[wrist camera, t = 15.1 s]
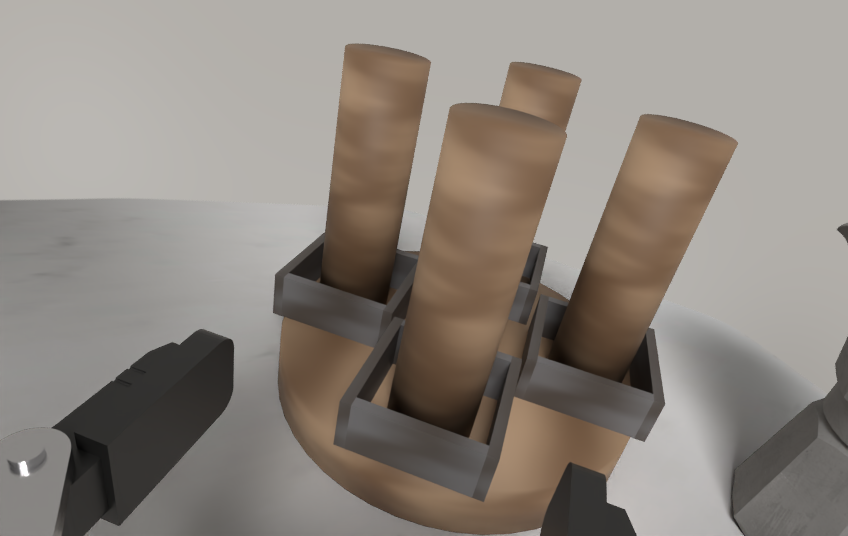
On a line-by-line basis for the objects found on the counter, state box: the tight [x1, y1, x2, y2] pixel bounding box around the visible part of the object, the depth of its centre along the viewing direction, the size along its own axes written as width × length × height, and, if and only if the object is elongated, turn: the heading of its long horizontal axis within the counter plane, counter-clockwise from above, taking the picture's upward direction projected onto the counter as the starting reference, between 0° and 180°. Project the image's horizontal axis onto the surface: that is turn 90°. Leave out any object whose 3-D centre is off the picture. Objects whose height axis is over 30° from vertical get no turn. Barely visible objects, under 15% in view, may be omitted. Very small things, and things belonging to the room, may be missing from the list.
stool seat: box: [273, 44, 738, 535], centre depth 28 cm, size 20×20×17 cm
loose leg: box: [387, 103, 567, 438], centre depth 22 cm, size 4×4×14 cm
